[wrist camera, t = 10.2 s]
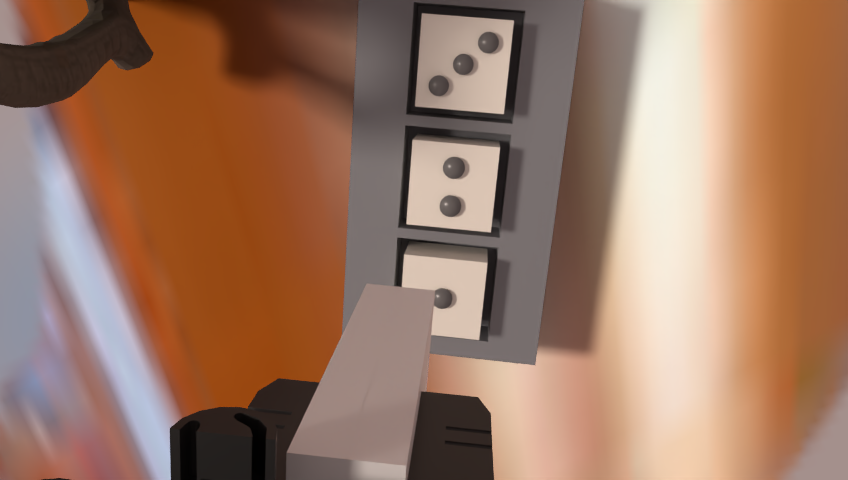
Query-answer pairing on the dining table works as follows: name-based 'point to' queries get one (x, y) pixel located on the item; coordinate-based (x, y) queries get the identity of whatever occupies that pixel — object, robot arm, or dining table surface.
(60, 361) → the dining table surface
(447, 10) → the grey dice tray
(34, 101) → the beer stein
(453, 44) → the tile
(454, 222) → the cream square block
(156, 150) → the dining table surface
